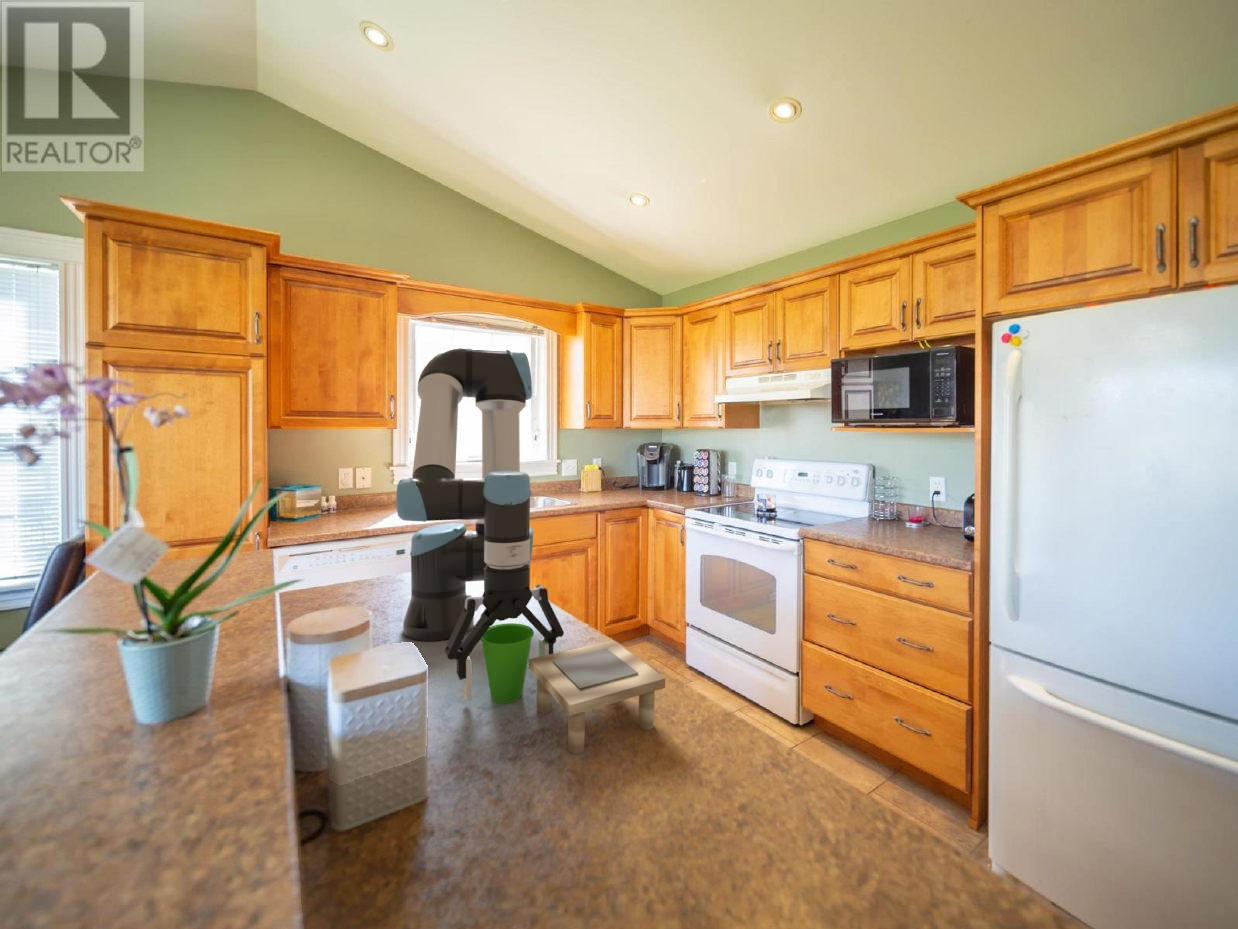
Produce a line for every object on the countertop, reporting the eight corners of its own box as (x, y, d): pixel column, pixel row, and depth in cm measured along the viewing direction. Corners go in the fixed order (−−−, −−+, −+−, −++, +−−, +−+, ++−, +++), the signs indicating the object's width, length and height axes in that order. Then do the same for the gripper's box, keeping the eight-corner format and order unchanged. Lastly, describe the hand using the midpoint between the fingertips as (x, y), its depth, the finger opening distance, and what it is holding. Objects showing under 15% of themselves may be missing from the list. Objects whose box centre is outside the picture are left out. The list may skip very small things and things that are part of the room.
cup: (521, 713, 83) (521, 646, 82) (469, 706, 85) (469, 641, 84) (541, 686, 92) (541, 625, 91) (493, 680, 93) (493, 621, 93)
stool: (528, 706, 85) (528, 657, 84) (612, 683, 93) (613, 638, 92) (569, 761, 71) (570, 703, 70) (664, 728, 79) (665, 676, 79)
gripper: (434, 579, 77) (435, 716, 78) (583, 560, 90) (581, 678, 91) (425, 567, 83) (426, 694, 85) (565, 551, 96) (564, 661, 97)
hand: (506, 686), depth 88 cm, fingers open, 13 cm apart
